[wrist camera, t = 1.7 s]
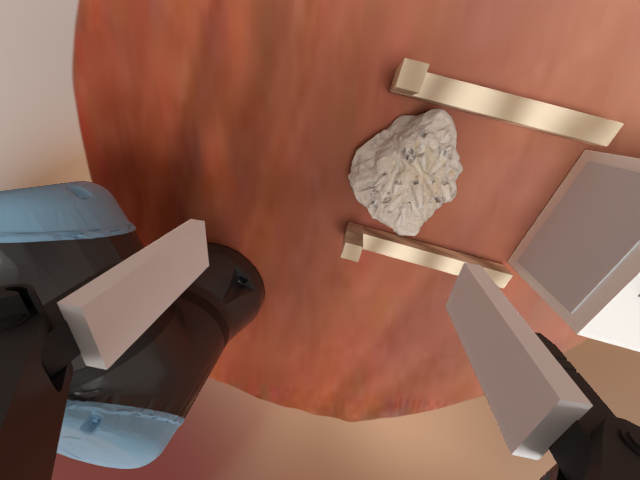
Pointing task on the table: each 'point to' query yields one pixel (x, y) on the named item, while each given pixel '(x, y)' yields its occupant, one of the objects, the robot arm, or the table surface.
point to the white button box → (590, 249)
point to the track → (481, 102)
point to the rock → (408, 170)
